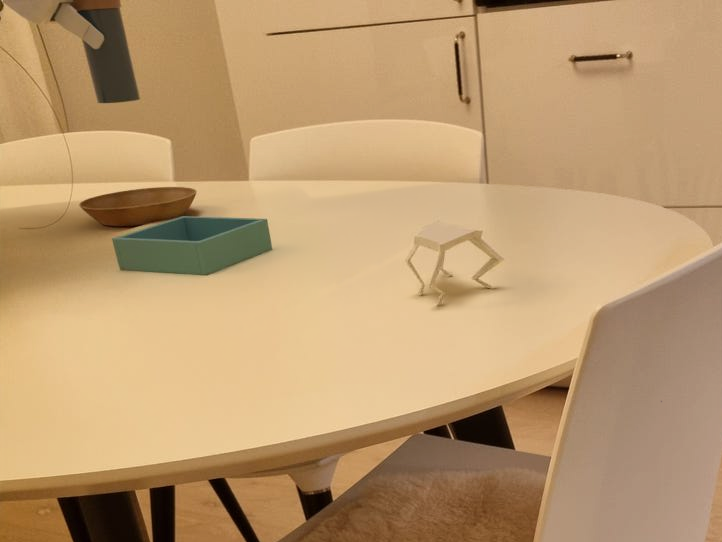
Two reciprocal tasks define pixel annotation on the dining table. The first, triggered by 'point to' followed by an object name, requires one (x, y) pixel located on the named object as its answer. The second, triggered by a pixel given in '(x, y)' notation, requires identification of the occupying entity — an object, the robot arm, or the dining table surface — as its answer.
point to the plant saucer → (139, 205)
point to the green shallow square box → (192, 245)
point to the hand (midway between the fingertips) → (110, 42)
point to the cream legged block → (445, 238)
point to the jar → (109, 52)
